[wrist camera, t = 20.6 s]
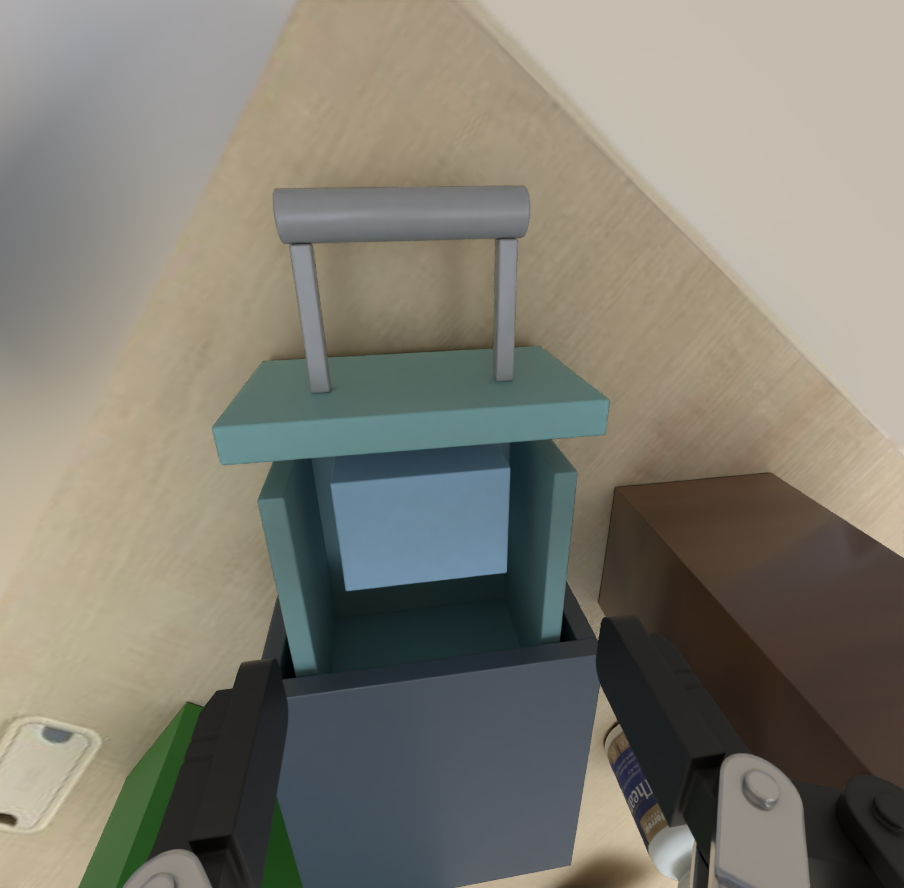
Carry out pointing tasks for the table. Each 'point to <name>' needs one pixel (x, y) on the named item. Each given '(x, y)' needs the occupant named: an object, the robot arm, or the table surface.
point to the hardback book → (145, 809)
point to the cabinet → (438, 763)
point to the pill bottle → (650, 813)
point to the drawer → (410, 442)
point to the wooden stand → (771, 617)
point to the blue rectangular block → (421, 515)
